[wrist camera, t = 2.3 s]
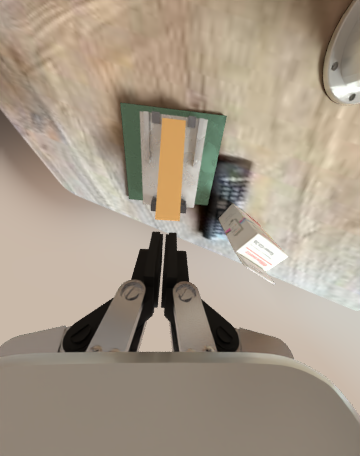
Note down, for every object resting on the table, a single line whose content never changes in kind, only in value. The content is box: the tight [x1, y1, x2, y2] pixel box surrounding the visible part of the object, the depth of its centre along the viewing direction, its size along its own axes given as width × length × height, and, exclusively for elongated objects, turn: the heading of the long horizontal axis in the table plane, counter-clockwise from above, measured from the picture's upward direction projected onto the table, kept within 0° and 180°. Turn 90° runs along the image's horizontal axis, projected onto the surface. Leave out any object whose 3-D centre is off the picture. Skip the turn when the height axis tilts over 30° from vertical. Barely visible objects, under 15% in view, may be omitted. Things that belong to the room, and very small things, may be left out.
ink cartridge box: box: [219, 204, 288, 285], centre depth 29 cm, size 9×5×15 cm, turn 54°
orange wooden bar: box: [155, 118, 186, 221], centre depth 19 cm, size 13×3×1 cm
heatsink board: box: [120, 103, 227, 213], centre depth 25 cm, size 15×16×7 cm
